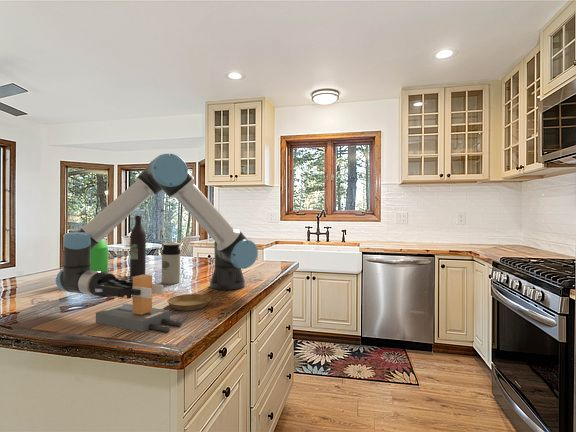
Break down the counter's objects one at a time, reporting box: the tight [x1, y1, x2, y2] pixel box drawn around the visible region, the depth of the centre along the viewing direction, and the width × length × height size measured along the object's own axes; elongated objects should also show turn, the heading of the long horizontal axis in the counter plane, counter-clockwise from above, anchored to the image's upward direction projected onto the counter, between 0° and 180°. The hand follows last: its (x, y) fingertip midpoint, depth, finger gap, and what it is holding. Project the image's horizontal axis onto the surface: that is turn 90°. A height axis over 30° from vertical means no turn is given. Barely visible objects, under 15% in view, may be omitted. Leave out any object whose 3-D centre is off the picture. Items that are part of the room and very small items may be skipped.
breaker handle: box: [132, 274, 153, 315], centre depth 102 cm, size 4×4×11 cm
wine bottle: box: [129, 215, 147, 278], centre depth 171 cm, size 7×7×30 cm
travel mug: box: [161, 242, 181, 285], centre depth 158 cm, size 8×8×18 cm
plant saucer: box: [166, 293, 212, 311], centre depth 121 cm, size 15×15×3 cm
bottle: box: [90, 239, 109, 273], centre depth 156 cm, size 9×9×25 cm
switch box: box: [95, 303, 183, 333], centre depth 102 cm, size 25×11×3 cm, turn 68°
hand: (156, 291), depth 100 cm, fingers closed on breaker handle, 4 cm apart
